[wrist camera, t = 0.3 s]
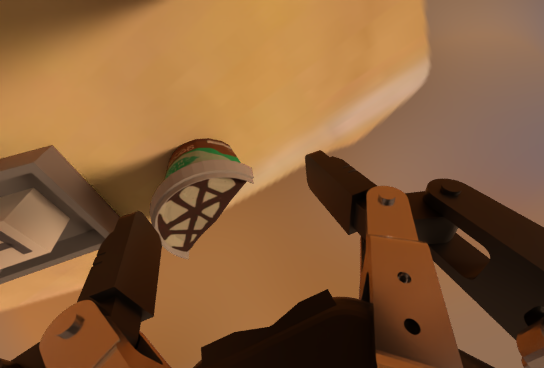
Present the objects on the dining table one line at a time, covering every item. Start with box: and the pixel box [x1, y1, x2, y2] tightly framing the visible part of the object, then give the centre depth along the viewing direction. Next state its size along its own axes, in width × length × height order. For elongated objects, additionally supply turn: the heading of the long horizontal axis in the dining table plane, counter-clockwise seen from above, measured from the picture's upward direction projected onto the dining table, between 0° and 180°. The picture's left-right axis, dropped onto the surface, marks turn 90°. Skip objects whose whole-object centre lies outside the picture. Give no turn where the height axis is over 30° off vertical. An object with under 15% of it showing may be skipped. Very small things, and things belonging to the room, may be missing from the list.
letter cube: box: [0, 188, 70, 269], centre depth 21 cm, size 5×5×5 cm
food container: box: [150, 138, 254, 259], centre depth 23 cm, size 12×6×10 cm, turn 139°
